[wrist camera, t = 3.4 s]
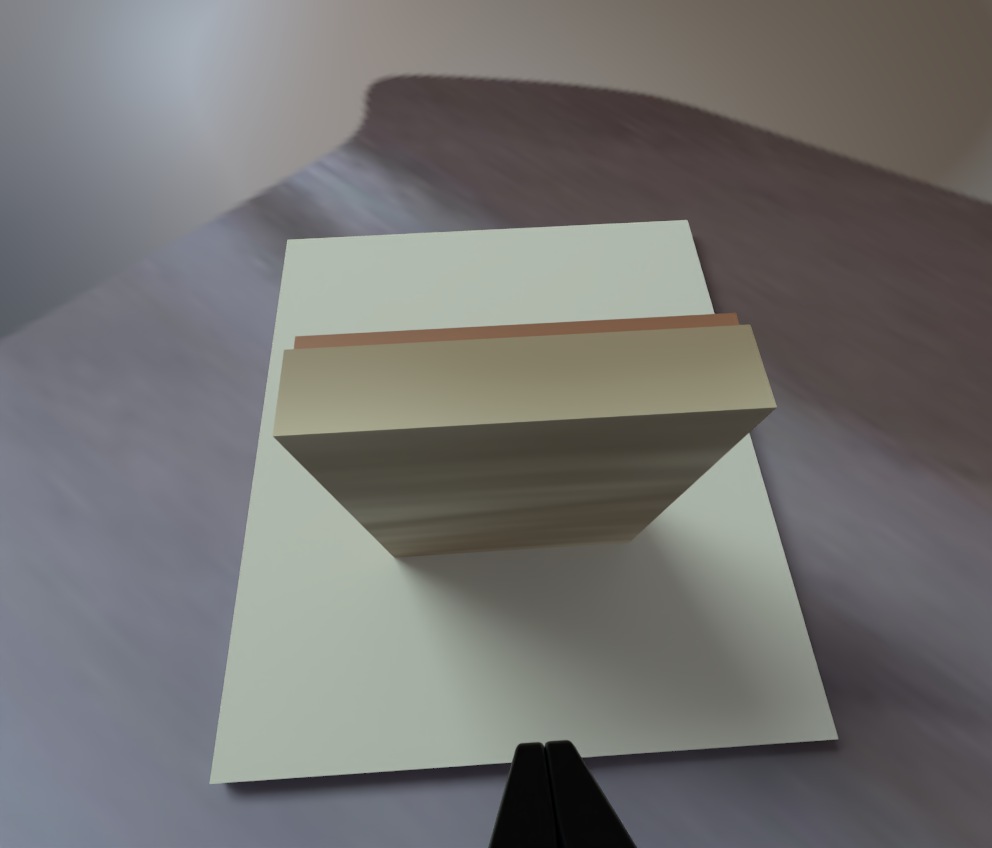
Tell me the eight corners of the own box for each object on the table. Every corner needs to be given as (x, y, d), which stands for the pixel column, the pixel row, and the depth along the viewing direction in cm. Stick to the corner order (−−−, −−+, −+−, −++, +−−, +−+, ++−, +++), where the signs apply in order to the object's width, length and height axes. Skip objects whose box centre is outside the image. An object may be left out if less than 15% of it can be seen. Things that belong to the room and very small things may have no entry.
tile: (629, 542, 15) (776, 407, 7) (394, 557, 15) (272, 436, 7) (620, 488, 16) (745, 308, 8) (395, 501, 16) (285, 333, 8)
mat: (825, 736, 14) (838, 739, 13) (221, 779, 13) (209, 784, 13) (682, 231, 21) (687, 220, 21) (292, 250, 21) (287, 239, 20)
